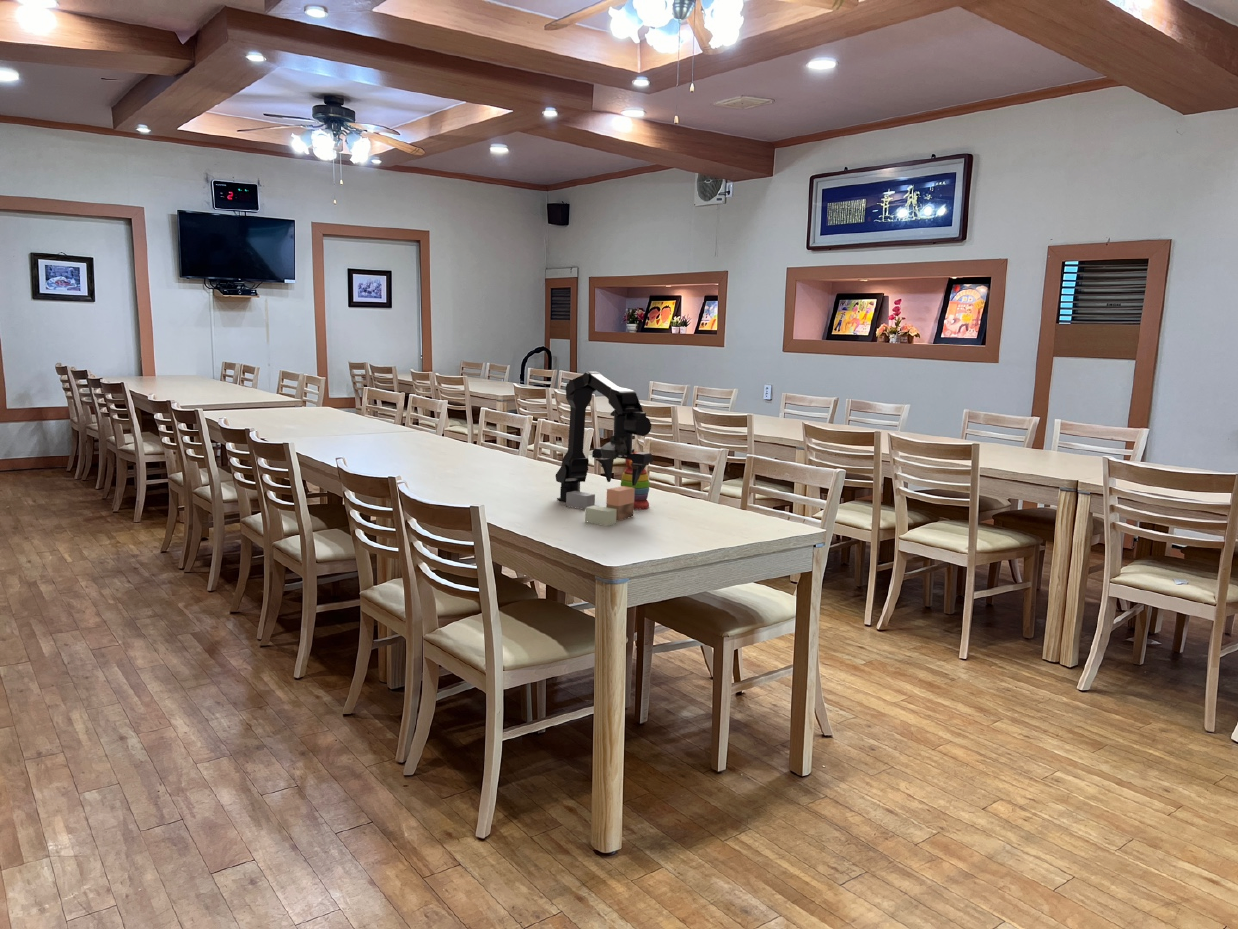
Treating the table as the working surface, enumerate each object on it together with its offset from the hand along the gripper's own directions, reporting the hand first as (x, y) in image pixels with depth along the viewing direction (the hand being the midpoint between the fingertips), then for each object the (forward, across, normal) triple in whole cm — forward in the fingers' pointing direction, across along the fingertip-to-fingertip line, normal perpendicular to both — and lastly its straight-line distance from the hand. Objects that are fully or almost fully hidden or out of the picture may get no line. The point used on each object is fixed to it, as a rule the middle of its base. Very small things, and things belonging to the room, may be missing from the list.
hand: (621, 483), depth 264 cm
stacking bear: (+11, -7, +18) cm, 22 cm away
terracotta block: (+6, 0, 0) cm, 6 cm away
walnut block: (+10, 0, 0) cm, 11 cm away
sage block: (+11, 0, -10) cm, 15 cm away
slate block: (+10, -18, +4) cm, 22 cm away
